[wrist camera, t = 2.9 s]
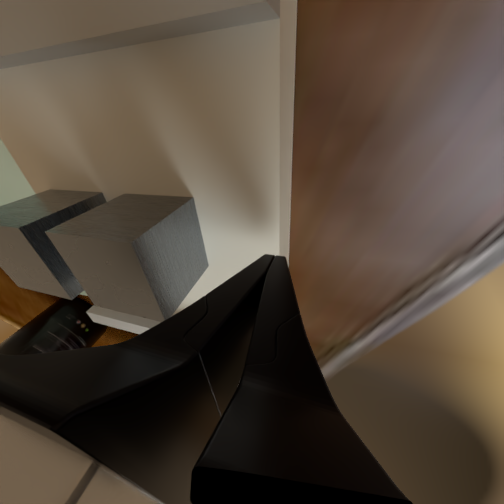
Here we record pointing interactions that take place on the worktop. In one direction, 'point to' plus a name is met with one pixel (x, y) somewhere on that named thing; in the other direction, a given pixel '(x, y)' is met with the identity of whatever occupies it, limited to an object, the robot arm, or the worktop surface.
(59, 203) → the gray cube
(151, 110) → the channel
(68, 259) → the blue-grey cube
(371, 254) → the worktop surface
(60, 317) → the supplement bottle
